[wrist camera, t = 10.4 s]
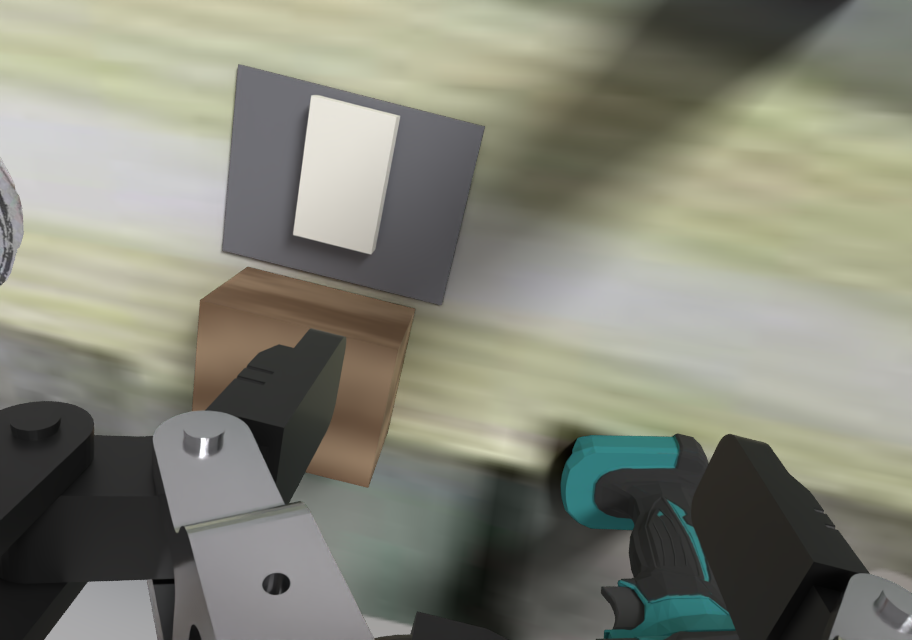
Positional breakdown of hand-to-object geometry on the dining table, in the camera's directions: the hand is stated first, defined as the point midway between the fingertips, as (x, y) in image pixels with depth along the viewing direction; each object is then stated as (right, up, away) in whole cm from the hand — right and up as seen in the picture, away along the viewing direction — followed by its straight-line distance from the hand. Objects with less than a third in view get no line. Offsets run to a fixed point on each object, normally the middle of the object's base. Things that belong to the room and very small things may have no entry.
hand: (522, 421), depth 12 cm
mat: (-10, +12, +33) cm, 36 cm away
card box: (-9, +12, +30) cm, 34 cm away
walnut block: (-13, -1, +38) cm, 40 cm away
